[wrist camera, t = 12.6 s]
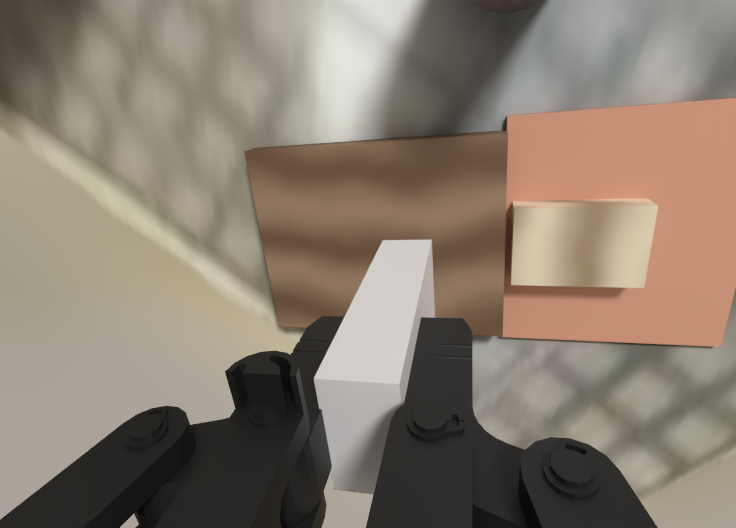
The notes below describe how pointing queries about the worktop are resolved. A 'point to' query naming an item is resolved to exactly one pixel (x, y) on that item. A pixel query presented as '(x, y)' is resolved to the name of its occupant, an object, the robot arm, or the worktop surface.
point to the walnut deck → (383, 220)
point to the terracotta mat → (631, 181)
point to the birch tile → (582, 242)
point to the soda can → (504, 5)
